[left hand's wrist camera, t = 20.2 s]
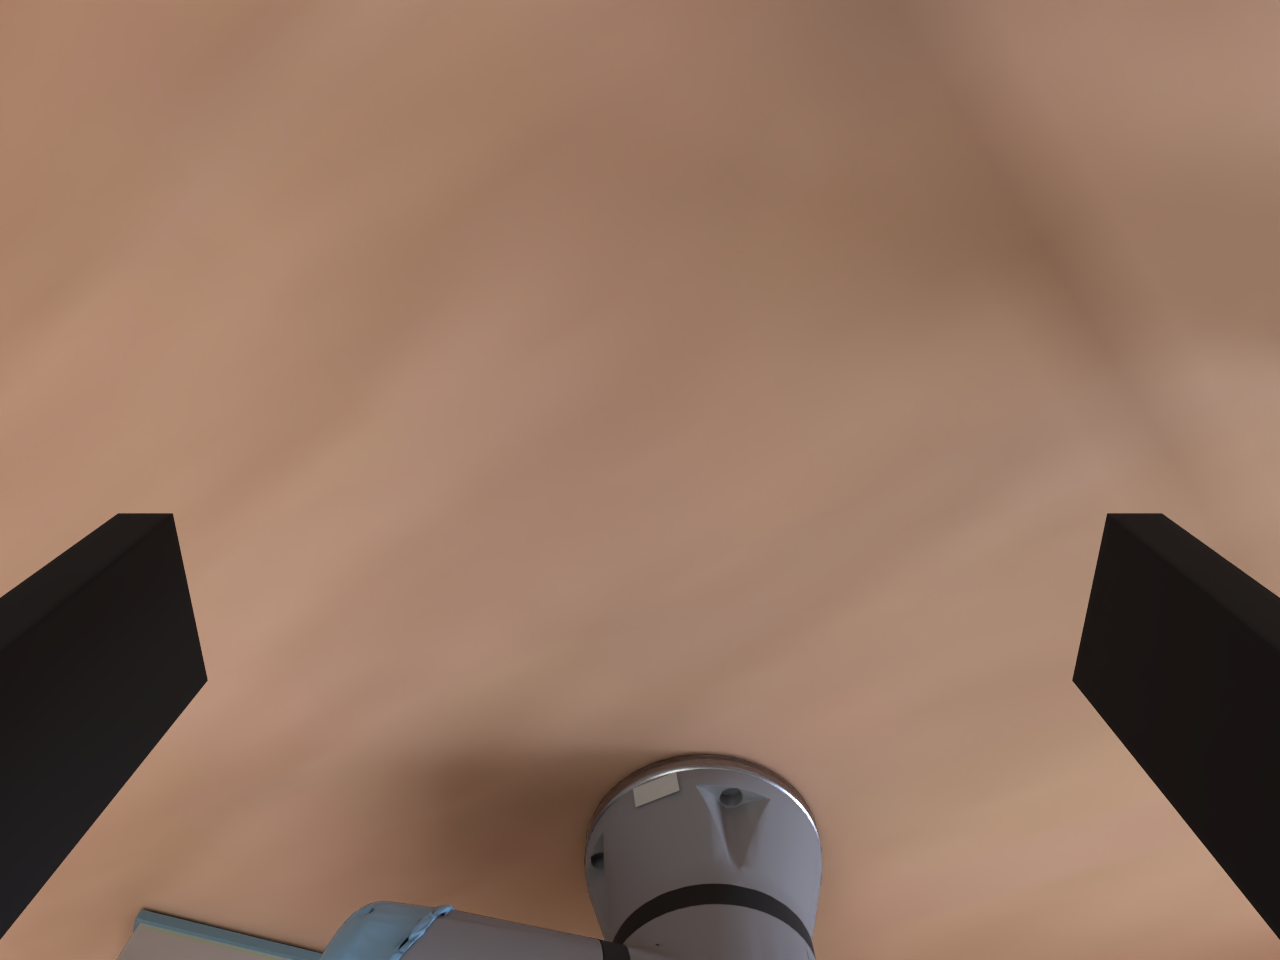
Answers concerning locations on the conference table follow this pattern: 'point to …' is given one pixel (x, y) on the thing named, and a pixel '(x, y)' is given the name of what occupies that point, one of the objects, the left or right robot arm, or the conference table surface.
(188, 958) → the book
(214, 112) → the conference table surface
